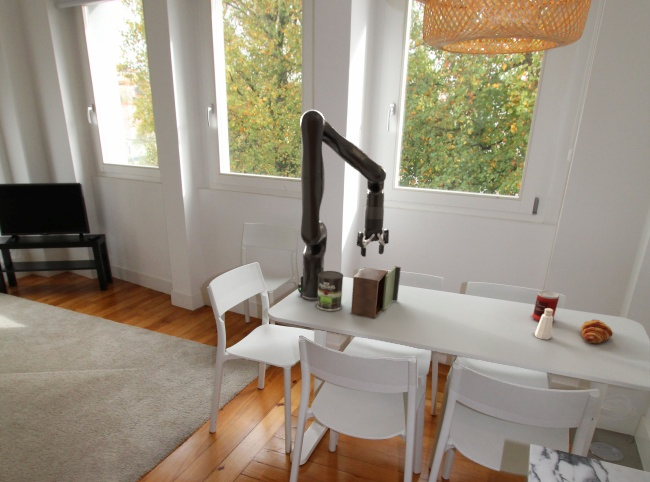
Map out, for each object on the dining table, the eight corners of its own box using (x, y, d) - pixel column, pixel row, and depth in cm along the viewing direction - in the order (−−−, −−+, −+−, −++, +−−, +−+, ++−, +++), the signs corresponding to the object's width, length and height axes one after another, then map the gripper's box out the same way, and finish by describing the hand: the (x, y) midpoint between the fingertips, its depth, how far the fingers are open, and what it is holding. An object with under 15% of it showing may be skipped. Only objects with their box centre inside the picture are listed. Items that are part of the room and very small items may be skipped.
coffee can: (336, 312, 191) (338, 280, 185) (313, 308, 194) (314, 276, 189) (344, 304, 200) (346, 272, 194) (322, 300, 203) (323, 269, 197)
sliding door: (397, 300, 204) (400, 267, 198) (388, 311, 192) (391, 276, 186) (391, 299, 205) (394, 266, 199) (382, 310, 193) (385, 275, 187)
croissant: (589, 333, 186) (583, 314, 185) (618, 329, 179) (612, 309, 178) (578, 351, 170) (571, 330, 170) (609, 347, 164) (603, 325, 163)
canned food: (552, 317, 191) (559, 292, 187) (553, 324, 185) (559, 298, 180) (532, 314, 194) (538, 289, 190) (531, 321, 188) (538, 295, 183)
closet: (384, 306, 198) (388, 270, 191) (374, 318, 186) (378, 280, 180) (362, 302, 202) (364, 267, 195) (351, 314, 190) (353, 276, 183)
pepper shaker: (549, 341, 171) (556, 313, 167) (533, 337, 174) (540, 310, 169) (551, 335, 175) (558, 308, 171) (535, 332, 178) (542, 305, 173)
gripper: (383, 213, 197) (381, 251, 204) (354, 216, 191) (353, 254, 198) (394, 216, 191) (391, 255, 197) (364, 219, 185) (362, 259, 192)
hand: (372, 255), depth 198 cm, fingers open, 8 cm apart
